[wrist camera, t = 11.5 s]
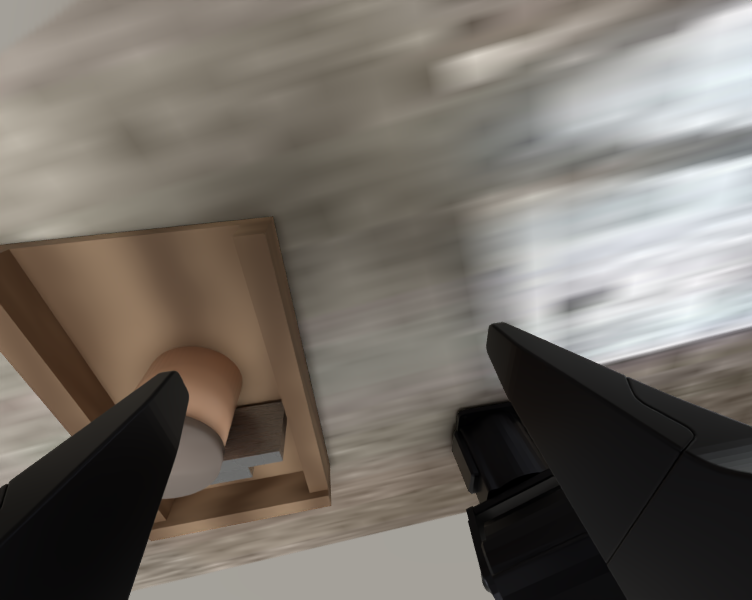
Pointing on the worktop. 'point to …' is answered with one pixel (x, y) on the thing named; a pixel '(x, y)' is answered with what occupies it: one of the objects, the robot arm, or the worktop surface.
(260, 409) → the pusher
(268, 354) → the tray
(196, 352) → the jar
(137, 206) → the worktop surface
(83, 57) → the worktop surface
